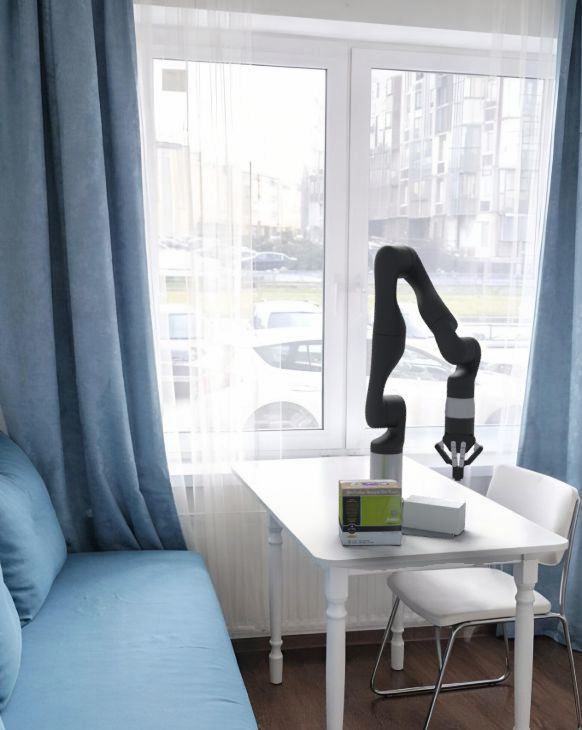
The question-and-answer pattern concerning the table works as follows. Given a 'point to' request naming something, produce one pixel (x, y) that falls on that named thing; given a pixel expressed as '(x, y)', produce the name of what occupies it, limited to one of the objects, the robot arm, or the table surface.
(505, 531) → the table surface
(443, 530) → the milk carton
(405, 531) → the mat
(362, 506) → the tea box
